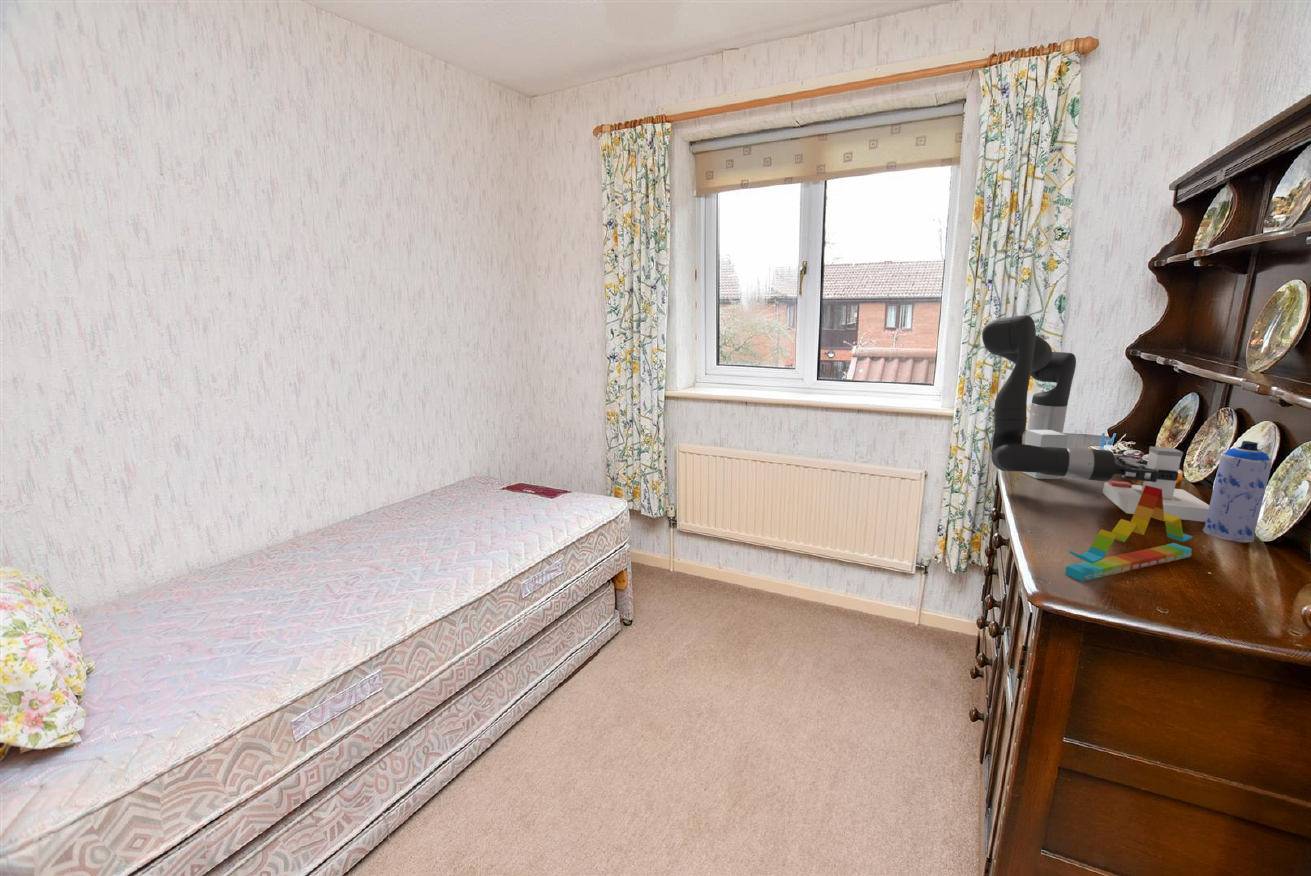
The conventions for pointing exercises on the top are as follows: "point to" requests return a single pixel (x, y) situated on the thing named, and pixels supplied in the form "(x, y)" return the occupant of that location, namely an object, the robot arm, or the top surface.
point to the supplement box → (1045, 445)
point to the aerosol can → (1238, 493)
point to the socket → (1178, 506)
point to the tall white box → (1163, 468)
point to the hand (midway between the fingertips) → (1168, 471)
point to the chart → (1145, 510)
